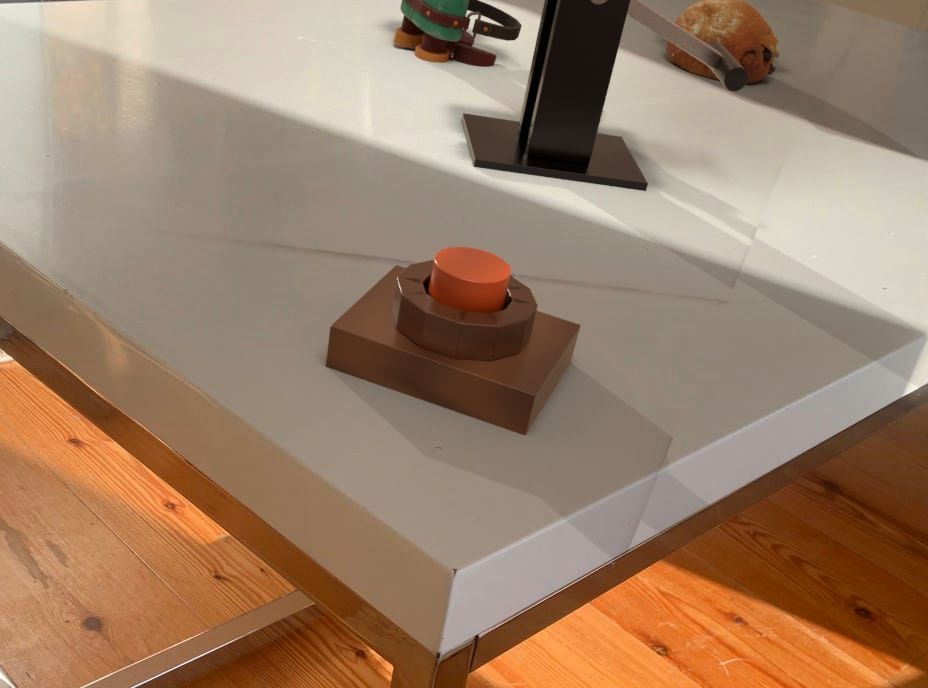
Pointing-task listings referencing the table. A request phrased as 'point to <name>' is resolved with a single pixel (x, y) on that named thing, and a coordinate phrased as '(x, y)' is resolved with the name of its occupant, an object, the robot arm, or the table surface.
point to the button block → (454, 349)
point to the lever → (692, 45)
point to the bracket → (563, 103)
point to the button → (469, 280)
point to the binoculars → (452, 30)
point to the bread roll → (728, 37)
